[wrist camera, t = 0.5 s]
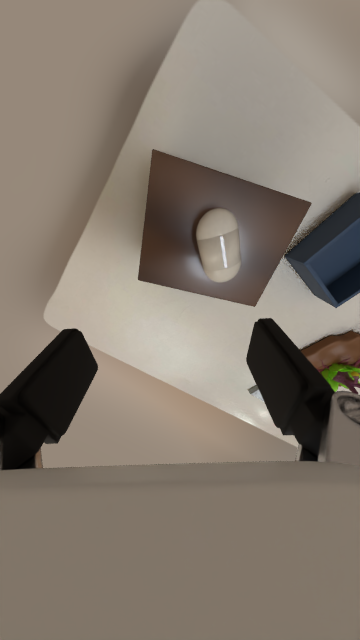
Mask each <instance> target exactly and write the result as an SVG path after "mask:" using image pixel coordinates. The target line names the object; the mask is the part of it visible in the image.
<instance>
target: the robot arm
mask: <svg viewBox="0 0 360 640" xmlns="http://www.w3.org/2000/svg"><path fill="white" fill-rule="evenodd" d="M246 360H247V364H248V367H249V369H250V371H251V373H252V375H253V378H254V380H255V382H256V384H257V386H258V389H259V391H260V393H261V395H262V398H263V400H264V402H265V404H266V406H267V409H268V411H269V413H270V415H271V417H272V420H273V422H274V424H275V425H276V427H277V428H280V429H281V432H282V434H283V435H294V436H295V438H296V440H297V441H298V443H299V445H298V450H297V455H296V460H295V461H278V462H277V461H275V462H274V461H271V462H270V461H269V462H226V463H189V464H158V465H157V464H154V465H126V466H125V465H123V466H92V467H66V468H43V465H42V457H41V446H42V444H43V443H44V442H45V443H46V444H51V443H58V442H59V440H60V438H61V436H62V435H64V434H65V433H66V431H67V429H68V427H69V425H70V423H71V421H72V419H73V417H74V415H75V413H76V411H77V409H78V408H79V405H80V404H81V401H82V399H83V398H84V396H85V394H86V392H87V390H88V388H89V386H90V384H91V382H92V380H93V378H94V376H95V374H96V372H97V370H98V365H97V363H96V361H95V359H94V357H93V355H92V352H91V350H90V348H89V346H88V344H87V342H86V340H85V338H84V336H83V334H82V332H81V331H79V330H78V329H64V330H62V331H61V332H60V333H59V335H57V336H56V338H55V339H54V340H53V341H52V342H51V343H50V344H49V345H48V346H47V347H46V348H45V349H44V350H43V351H42V352H41V353H40V354H39V355H38V356H37V357H36V358H35V359H34V360H33V361H32V362H31V363H30V364H29V365H28V366H27V367H26V368H25V369H24V371H22V372H21V373H20V374H19V375H18V376H17V377H16V379H14V381H13V382H12V383H11V384H10V385H9V386H8V387H7V388H6V389H5V390H4V391H3V392H2V393H1V394H0V640H360V395H358V394H355V393H352V392H348V391H337V392H335V391H334V390H333V389H332V388H331V385H330V384H329V383H328V382H327V381H326V379H325V378H324V377H323V376H322V375H321V374H320V373H319V371H318V370H317V369H316V368H315V367H314V366H313V365H312V363H311V362H310V361H309V360H308V359H307V358H306V357H305V356H304V354H303V353H302V352H301V351H300V350H299V349H298V348H297V346H296V345H295V344H294V343H293V342H292V341H291V340H290V338H289V337H288V336H287V335H286V334H285V333H284V332H283V330H282V329H281V328H280V327H279V326H278V325H277V324H276V322H275V321H274V320H273V319H272V318H266V319H259V320H258V322H255V324H254V328H253V332H252V336H251V341H250V345H249V349H248V353H247V358H246Z"/></svg>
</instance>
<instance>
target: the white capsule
mask: <svg viewBox="0 0 360 640" xmlns="http://www.w3.org/2000/svg"><path fill="white" fill-rule="evenodd" d="M196 239H197V244H198V248H199V253H200V258H201V262H202V267H203V271H204V273H205V275H206V276H207V277H208V278H209V279H210V280H212V281H214V282H218V283H224V282H227V281H229V280H231V279H233V278H234V277H235V276H236V275H237V273H238V272H239V270H240V267H241V249H240V237H239V227H238V222H237V219H236V217H235V216H234V214H233V213H232V212H230V211H229V210H227V209H224V208H215V209H212V210H210V211H208V212H207V213H205V214H204V215H203V216H202V218H201V219H200V221H199V223H198V225H197V229H196Z"/></svg>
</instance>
